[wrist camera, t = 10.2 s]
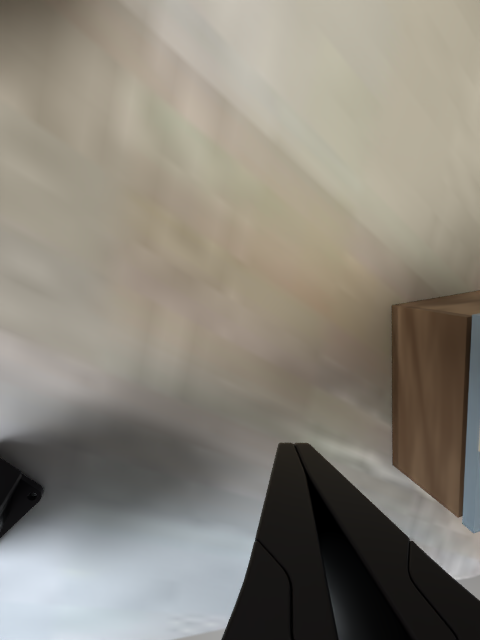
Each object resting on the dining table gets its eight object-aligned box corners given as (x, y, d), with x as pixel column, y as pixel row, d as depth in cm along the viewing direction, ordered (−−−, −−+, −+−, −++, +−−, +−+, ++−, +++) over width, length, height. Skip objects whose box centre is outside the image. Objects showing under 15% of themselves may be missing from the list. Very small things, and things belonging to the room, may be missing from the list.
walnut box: (392, 464, 27) (458, 517, 21) (391, 305, 24) (467, 317, 18) (479, 435, 29) (559, 476, 24) (488, 289, 27) (580, 295, 21)
